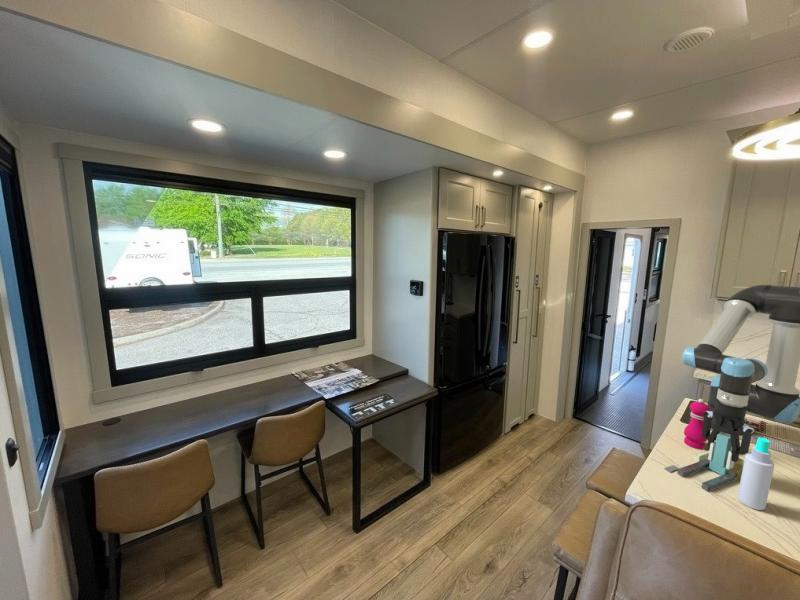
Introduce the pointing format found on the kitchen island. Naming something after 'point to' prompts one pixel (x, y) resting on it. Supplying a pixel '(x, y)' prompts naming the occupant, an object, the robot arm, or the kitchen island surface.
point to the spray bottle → (756, 476)
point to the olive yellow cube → (733, 467)
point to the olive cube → (739, 465)
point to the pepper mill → (696, 425)
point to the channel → (710, 483)
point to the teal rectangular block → (721, 454)
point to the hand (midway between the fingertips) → (720, 463)
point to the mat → (671, 468)
